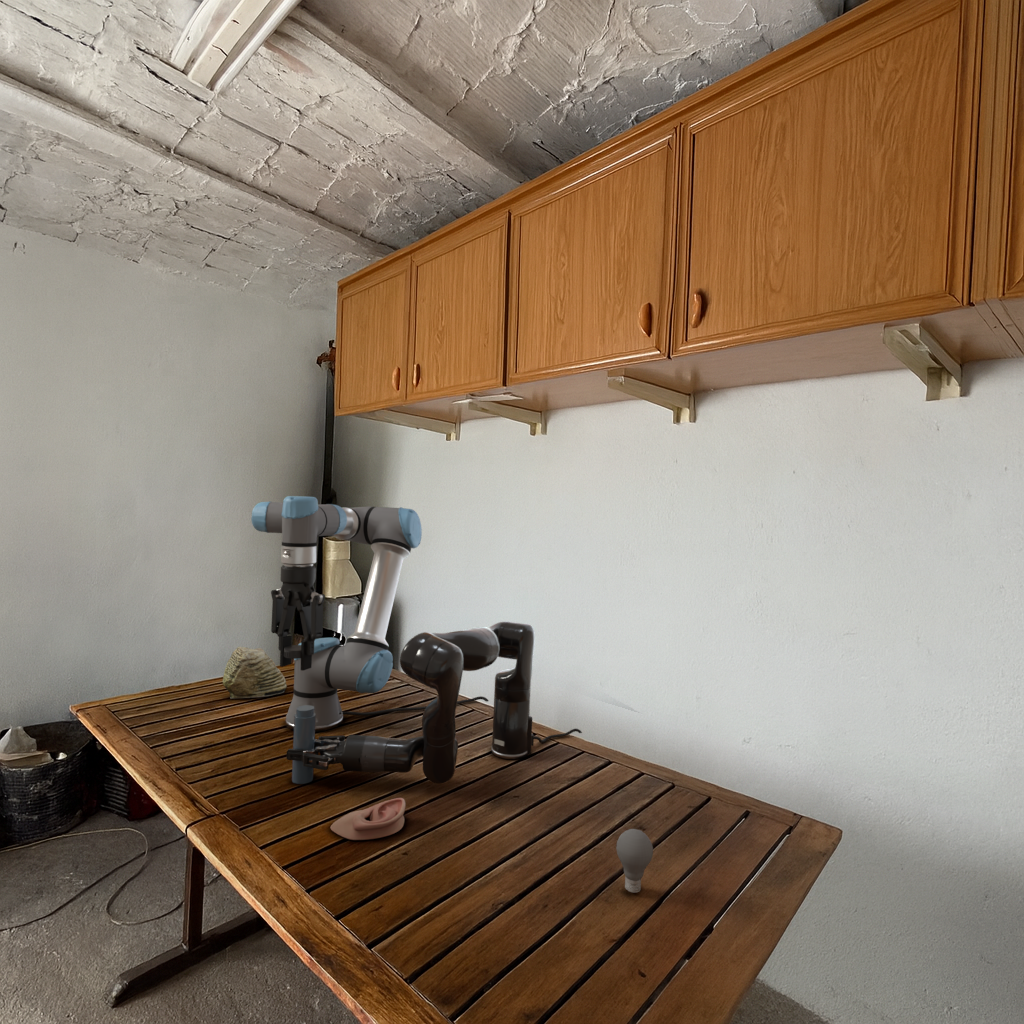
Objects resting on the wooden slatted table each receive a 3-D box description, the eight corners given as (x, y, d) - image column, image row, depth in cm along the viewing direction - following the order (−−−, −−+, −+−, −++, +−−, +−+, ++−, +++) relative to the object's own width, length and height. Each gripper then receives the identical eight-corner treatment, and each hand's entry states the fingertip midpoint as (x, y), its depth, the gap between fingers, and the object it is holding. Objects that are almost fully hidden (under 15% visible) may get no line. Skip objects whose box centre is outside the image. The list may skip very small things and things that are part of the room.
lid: (298, 651, 147) (298, 643, 147) (313, 655, 144) (313, 647, 144) (278, 655, 142) (278, 647, 142) (293, 660, 139) (293, 652, 139)
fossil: (218, 695, 195) (220, 647, 195) (278, 685, 208) (279, 640, 207) (228, 703, 189) (230, 653, 188) (289, 692, 201) (290, 645, 201)
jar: (312, 783, 140) (315, 710, 140) (290, 784, 139) (293, 711, 138) (313, 774, 144) (316, 704, 144) (292, 775, 143) (295, 704, 143)
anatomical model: (323, 814, 118) (350, 787, 130) (322, 835, 118) (350, 806, 130) (389, 824, 116) (412, 796, 127) (389, 846, 116) (411, 816, 127)
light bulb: (610, 879, 108) (613, 822, 108) (644, 879, 109) (647, 822, 109) (619, 902, 102) (622, 840, 102) (655, 901, 103) (658, 840, 103)
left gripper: (255, 562, 143) (252, 665, 143) (319, 569, 135) (316, 677, 136) (279, 560, 149) (276, 657, 150) (342, 566, 142) (339, 668, 143)
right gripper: (375, 725, 148) (303, 721, 148) (359, 749, 134) (279, 745, 134) (374, 757, 148) (302, 753, 149) (358, 784, 134) (278, 780, 134)
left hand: (295, 666), depth 143 cm, fingers closed on lid, 5 cm apart
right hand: (291, 749), depth 141 cm, fingers closed on jar, 4 cm apart
